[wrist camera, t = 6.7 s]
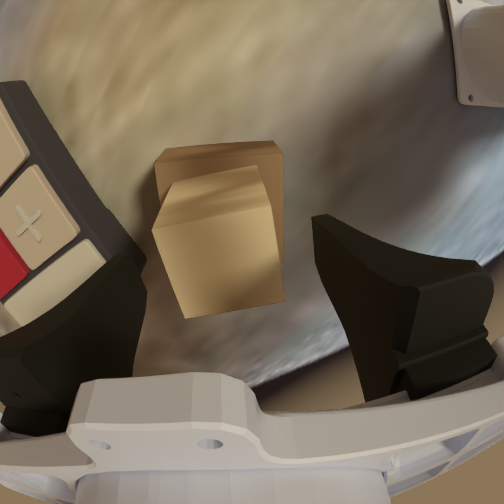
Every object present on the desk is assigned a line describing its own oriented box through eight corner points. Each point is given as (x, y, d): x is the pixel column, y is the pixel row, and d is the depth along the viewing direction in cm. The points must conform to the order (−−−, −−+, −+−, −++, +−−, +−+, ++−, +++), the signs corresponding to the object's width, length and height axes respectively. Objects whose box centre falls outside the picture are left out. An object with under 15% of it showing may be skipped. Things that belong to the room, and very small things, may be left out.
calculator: (-10, 79, 10) (134, 297, 17) (31, 76, 14) (150, 259, 21) (-80, 193, 12) (34, 351, 19) (-46, 174, 16) (54, 316, 23)
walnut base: (272, 139, 17) (283, 153, 14) (273, 233, 20) (282, 263, 17) (166, 147, 17) (154, 163, 14) (179, 240, 20) (172, 271, 17)
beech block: (256, 164, 14) (270, 205, 10) (269, 239, 17) (285, 301, 12) (173, 182, 15) (151, 230, 10) (193, 253, 17) (185, 318, 12)
